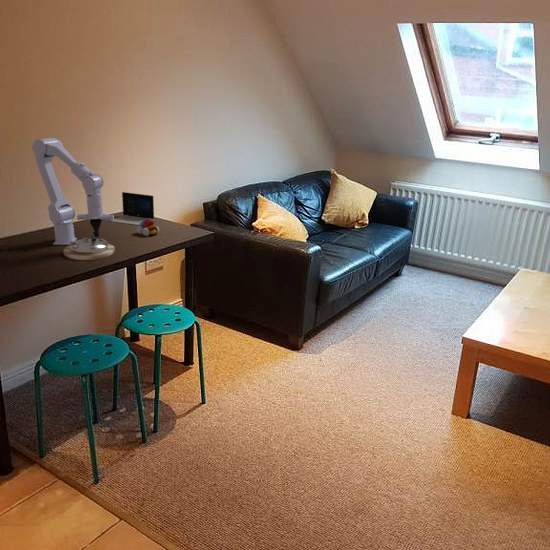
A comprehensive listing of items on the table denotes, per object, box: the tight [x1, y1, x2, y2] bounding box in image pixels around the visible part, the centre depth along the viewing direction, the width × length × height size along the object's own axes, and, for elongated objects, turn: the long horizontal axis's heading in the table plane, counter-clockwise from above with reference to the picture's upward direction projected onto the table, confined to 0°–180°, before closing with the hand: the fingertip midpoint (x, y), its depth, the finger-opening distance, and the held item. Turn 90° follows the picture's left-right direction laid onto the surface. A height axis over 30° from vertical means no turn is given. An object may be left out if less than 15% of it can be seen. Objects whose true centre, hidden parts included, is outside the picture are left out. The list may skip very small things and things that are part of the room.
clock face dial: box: [69, 230, 109, 254], centre depth 224 cm, size 15×15×6 cm
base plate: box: [63, 243, 116, 261], centre depth 225 cm, size 20×20×2 cm
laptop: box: [109, 191, 155, 226], centre depth 273 cm, size 18×12×13 cm
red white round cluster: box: [136, 218, 160, 237], centre depth 253 cm, size 8×10×7 cm
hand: (97, 236), depth 229 cm, fingers closed, pressing on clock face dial
